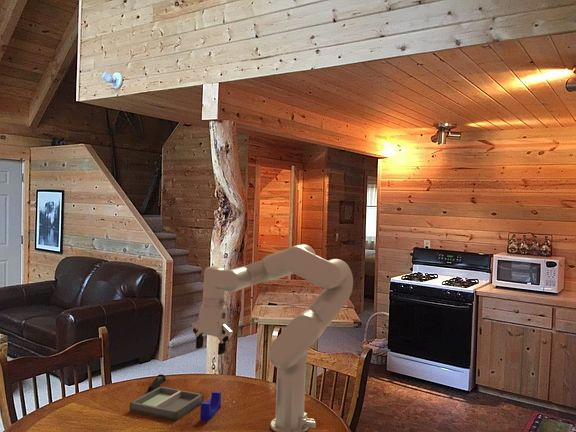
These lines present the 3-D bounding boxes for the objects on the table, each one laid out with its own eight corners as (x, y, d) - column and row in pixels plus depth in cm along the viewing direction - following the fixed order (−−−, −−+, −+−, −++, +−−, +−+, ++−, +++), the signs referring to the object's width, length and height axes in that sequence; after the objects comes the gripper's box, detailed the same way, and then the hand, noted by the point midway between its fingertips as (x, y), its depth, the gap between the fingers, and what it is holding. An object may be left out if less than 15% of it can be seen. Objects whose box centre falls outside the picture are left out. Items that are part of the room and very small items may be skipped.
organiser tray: (203, 402, 186) (203, 394, 186) (175, 421, 170) (175, 412, 169) (160, 394, 193) (160, 386, 193) (129, 411, 176) (129, 402, 176)
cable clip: (208, 407, 183) (209, 390, 183) (220, 408, 182) (221, 391, 182) (196, 420, 171) (196, 402, 171) (208, 421, 170) (209, 404, 170)
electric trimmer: (144, 394, 194) (145, 386, 194) (157, 379, 210) (157, 372, 209) (154, 394, 194) (154, 386, 194) (166, 380, 209) (166, 372, 209)
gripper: (239, 304, 175) (236, 353, 176) (200, 297, 183) (197, 343, 184) (227, 307, 169) (223, 358, 169) (187, 299, 177) (184, 348, 177)
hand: (210, 350), depth 176 cm, fingers open, 9 cm apart
